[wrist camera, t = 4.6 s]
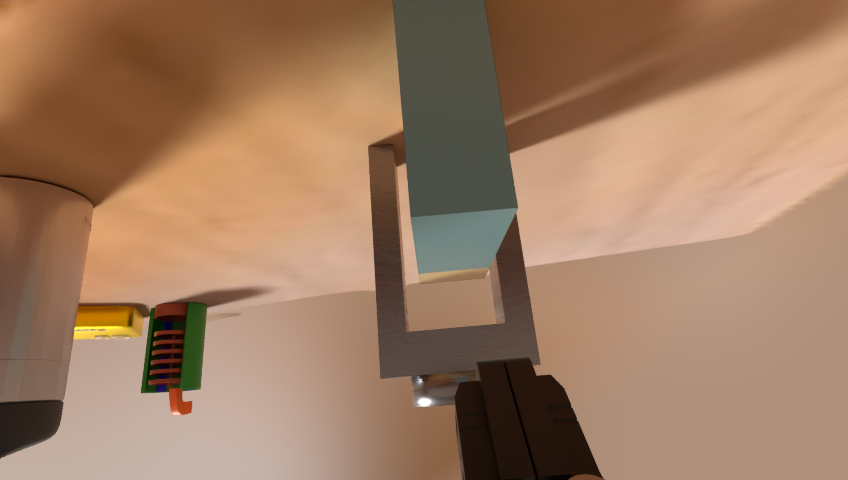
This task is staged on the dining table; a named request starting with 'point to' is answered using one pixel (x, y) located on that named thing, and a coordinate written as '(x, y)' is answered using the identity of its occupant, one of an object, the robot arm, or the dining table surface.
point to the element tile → (108, 322)
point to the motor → (175, 352)
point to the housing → (453, 347)
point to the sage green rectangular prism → (453, 138)
